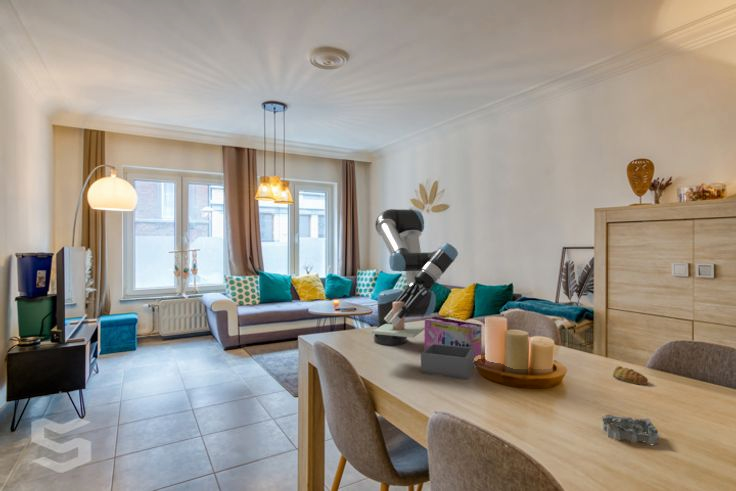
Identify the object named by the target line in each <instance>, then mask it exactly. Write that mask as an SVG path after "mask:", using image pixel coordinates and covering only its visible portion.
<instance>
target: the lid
mask: <svg viewBox="0 0 736 491" xmlns="http://www.w3.org/2000/svg"><path fill="white" fill-rule="evenodd" d="M401 306H404V302H401V301H396V302H393V317H394V315H395V314H396V313H397V312H398V311H399V309H400V308H402V307H401ZM402 309H403V308H402ZM423 331H425V326H417V325H415V326H414V325H406V324H405V318H404V316H403V318H402V319H401V320H400V321H399V323H398V324H397V325H396V326H394V325H393V324H384V325H382V326H380V327H378V328H377V327H376V328H375V329H373V330H371V334H372V335H375V334H381V335H391V336H402V337H407V338H415V337H417V336H418V335H419V334H421V333H422V332H423Z"/></svg>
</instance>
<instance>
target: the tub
mask: <svg viewBox="0 0 736 491" xmlns="http://www.w3.org/2000/svg"><path fill="white" fill-rule="evenodd" d="M473 361H474V348H470V347H461V346H452V345H443V344H434V343H431V344H430V345H429V346H428V347H427V348H426V349H425V350H424V349H423V351H421V353H420V374H426V375H432V376H439V377H447V378H452V379H460V380H468V379H469V377H470V375H471V373H472V372H473V370H474V368H475V362H473Z"/></svg>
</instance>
